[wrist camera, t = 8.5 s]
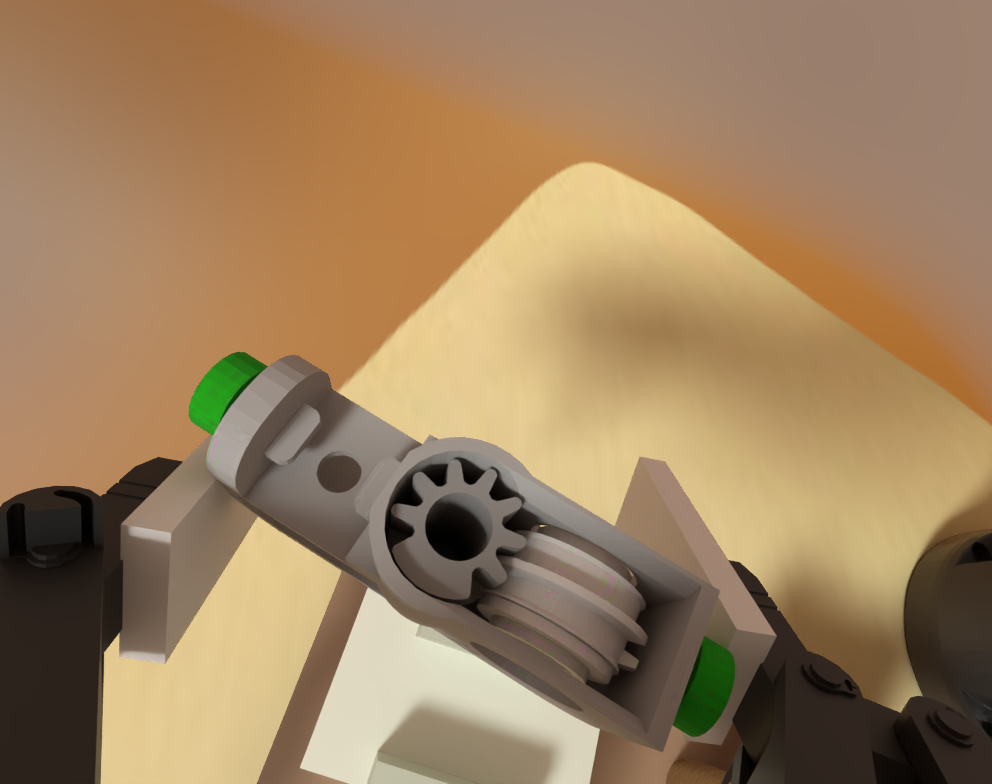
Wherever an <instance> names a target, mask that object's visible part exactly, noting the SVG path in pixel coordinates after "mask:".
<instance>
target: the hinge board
mask: <svg viewBox="0 0 992 784" xmlns="http://www.w3.org/2000/svg"><path fill="white" fill-rule="evenodd" d="M741 743H742V740H741V738H740V736H739V734H738V732H737V730H736V727H735V725H734V723H732V725H731V727H730V729H729V731H728V733H727V735H726V737H725V739H724V741H723V743H722V745H715V744H708V743H701V742H694V741H688V740H684V738H683V735H682V733H681V730H679V729H678V728H676V727H674V726H673V725H672V728H671V731H670V733H669V736H668V739H667V742H666V745H665V747H664V750H663V752H660V751H657V750H654V749H651V748H648V747H645V746H642V745H639V744H636V743H634V742H631V741H628V740H625V739H622V738H620V737H618V736H617V735H615V734H613V733H610V732H607V731H604V730H601V729H598V728H595V727H593V726H591V725H589V724H587V723H585V722H583V721H581V720H579V719H577V718H575V717H573V716H571V715H570V714H568V713H566V712H564V711H562V710H561V709H559V708H557V707H556V706H554V705H552V704H550V703H549V702H547V701H546V700H544V699H542V698H541V697H539V696H537V695H536V694H534V693H533V692H531V691H529V690H528V689H526V688H525V687H523V686H522V685H520V684H518V683H517V682H515V681H514V680H512V679H511V678H509V677H507V676H506V675H504V674H503V673H501V672H500V671H498V670H497V669H495V668H493V667H492V666H490V665H489V664H487V663H486V662H484V661H482V660H481V659H479V658H478V657H476V656H475V655H473V654H471V653H470V652H468V651H467V650H465V649H464V648H462V647H461V646H459V645H457V644H456V643H454V642H453V641H451V640H450V639H448V638H446V637H445V636H443V635H442V634H440V633H439V632H437V631H435V630H434V629H432V628H431V627H426V626H423V625H419V624H417V623H414V622H412V621H410V620H408V619H407V618H405V617H404V616H402V615H401V614H400V613H398V612H397V611H396V610H395V609H394V608H393V607H392V606H391V605H390V604H389V603H388V602H387V600H386V599H385V598H384V597H382V596H381V595H379V594H377V593H376V592H374V591H373V590H371V589H370V588H368V587H367V586H365V585H363V584H362V583H360V582H359V581H357V580H356V579H354V578H352V577H351V576H349V575H348V574H346V573H345V572H343V571H342V572H341V575H340V577H339V580H338V582H337V585H336V587H335V590H334V592H333V595H332V597H331V600H330V602H329V605H328V607H327V610H326V612H325V615H324V617H323V620H322V622H321V625H320V627H319V630H318V632H317V635H316V637H315V640H314V642H313V645H312V647H311V650H310V652H309V655H308V657H307V660H306V662H305V665H304V667H303V670H302V672H301V675H300V677H299V680H298V682H297V685H296V687H295V690H294V692H293V695H292V697H291V700H290V702H289V705H288V707H287V710H286V712H285V715H284V717H283V720H282V722H281V725H280V727H279V730H278V732H277V735H276V737H275V740H274V742H273V745H272V747H271V750H270V752H269V755H268V757H267V760H266V762H265V765H264V767H263V770H262V772H261V775H260V777H259V780H258V782H257V784H721V782H722V780H723V778H724V776H725V774H726V772H727V770H728V768H729V766H730V764H731V762H732V761H733V759H734V757H735V755H736V753H737V751H738V749H739V747H740V745H741ZM729 784H731V782H730V783H729Z"/></svg>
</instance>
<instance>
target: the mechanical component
mask: <svg viewBox="0 0 992 784" xmlns="http://www.w3.org/2000/svg"><path fill="white" fill-rule="evenodd" d="M189 418H190V420H191V421H192V422H193V423H194V424H195V425H197V426H199V427H200V428H202V429H203V430H205V431H207V432H208V433H210V434H211V435H213V437H212V440H211V442H210V445H209V448H208V452H207V458H206V465H207V469H208V471H209V473H210V474H211V475H212V476H213V477H214V478H215V479H217V480H218V482H219V483H220V484H221V485H222V486H223V487H224V488H225V489H226V490H227V491H228V492H229V494H230V495H231V496H232V497H233V498H235V499H236V500H237V501H238V502H240V503H241V504H242V505H243V506H245V507H246V508H247V509H249V510H250V511H251V512H253V513H254V514H256V515H257V516H258V517H260V518H261V519H263V520H264V521H266V522H267V523H268V524H270V525H271V526H273V527H274V528H276V529H277V530H279V531H280V532H282V533H284V534H285V535H287V536H288V537H290V538H291V539H293V540H294V541H296V542H298V543H299V544H301V545H302V546H304V547H305V548H307V549H309V550H310V551H312V552H313V553H315V554H316V555H318V556H320V557H321V558H323V559H324V560H326V561H327V562H329V563H331V564H332V565H334V566H335V567H337V568H338V569H340V570H341V571H343V572H345V573H346V574H348V575H349V576H351V577H352V578H354V579H356V580H357V581H359V582H360V583H362V584H363V585H365V586H367V587H368V588H370V589H371V590H373V591H374V592H376V593H377V594H379V595H381V596H382V597H384V598H385V599H386V600H387V602H388V603H389V604H390V605H391V606H392V607H393V608H394V609H395V610H396V611H397V612H398V613H400V614H401V615H402V616H404V617H405V618H407V619H408V620H410V621H412V622H414V623H417V624H419V625H423V626H426V627H431V628H432V629H434V630H435V631H437V632H439V633H440V634H442V635H443V636H445V637H446V638H448V639H450V640H451V641H453V642H454V643H456V644H457V645H459V646H461V647H462V648H464V649H465V650H467V651H468V652H470V653H471V654H473V655H475V656H476V657H478V658H479V659H481V660H482V661H484V662H486V663H487V664H489V665H490V666H492V667H493V668H495V669H497V670H498V671H500V672H501V673H503V674H504V675H506V676H507V677H509V678H511V679H512V680H514V681H515V682H517V683H518V684H520V685H522V686H523V687H525V688H526V689H528V690H529V691H531V692H533V693H534V694H536V695H537V696H539V697H541V698H542V699H544V700H546V701H547V702H549V703H550V704H552V705H554V706H556V707H557V708H559V709H561V710H562V711H564V712H566V713H568V714H570V715H571V716H573V717H575V718H577V719H579V720H581V721H583V722H585V723H587V724H589V725H591V726H593V727H595V728H598V729H601V730H604V731H607V732H610V733H613V734H615V735H617V736H618V737H620V738H622V739H625V740H628V741H631V742H634V743H636V744H639V745H642V746H645V747H648V748H651V749H654V750H657V751H660V752H663V750H664V747H665V745H666V742H667V739H668V736H669V733H670V731H671V728H672V725H673V726H674V727H676V728H678V729H679V730H681V731H682V732H684V733H686V734H687V735H689V736H691V737H699V736H701V735H703V734H705V733H706V732H707V731H709V730H710V729H711V728H712V727H713V726H714V724H715V723H716V722H717V721H718V719H719V718H720V717H721V715H722V713H723V711H724V709H725V707H726V705H727V703H728V701H729V698H730V695H731V693H732V689H733V684H734V680H735V662H734V657H733V656H732V654H731V652H730V651H728V650H727V649H725V648H724V647H722V646H720V645H719V644H717V643H715V642H714V641H712V640H711V639H709V638H707V637H706V636H704V635H705V632H706V630H707V627H708V624H709V621H710V618H711V615H712V613H713V610H714V607H715V604H716V601H717V599H718V596H719V593H720V590H718V589H717V588H715V587H713V586H712V585H710V584H708V583H707V582H705V581H703V580H702V579H700V578H699V577H697V576H695V575H694V574H692V573H690V572H689V571H687V570H685V569H684V568H682V567H680V566H679V565H677V564H675V563H674V562H672V561H671V560H669V559H667V558H666V557H664V556H662V555H661V554H659V553H657V552H656V551H654V550H652V549H651V548H649V547H648V546H646V545H644V544H643V543H641V542H639V541H638V540H636V539H634V538H633V537H631V536H629V535H628V534H626V533H625V532H623V531H621V530H620V529H618V528H616V527H615V526H613V525H611V524H610V523H608V522H606V521H605V520H603V519H601V518H600V517H598V516H597V515H595V514H593V513H592V512H590V511H588V510H587V509H585V508H583V507H582V506H580V505H578V504H577V503H575V502H574V501H572V500H570V499H569V498H567V497H565V496H564V495H562V494H560V493H559V492H557V491H555V490H554V489H552V488H550V487H549V486H547V485H546V484H544V483H542V482H541V481H539V480H537V479H536V478H534V477H533V476H532V475H531V474H530V473H529V471H528V470H527V469H526V468H525V467H524V465H523V464H522V463H520V462H519V461H518V460H517V459H516V458H515V457H513V456H512V455H511V454H510V453H508V452H506V451H505V450H503V449H501V448H499V447H498V446H496V445H493V444H490V443H488V442H485V441H482V440H478V439H471V438H465V437H458V438H444V439H439V440H438V439H436V438H435V437H433V436H431V435H429V436H428V438H427V439H426V441H425V442H424V444H423V445H422V444H421V443H419V442H417V441H416V440H414V439H413V438H411V437H409V436H408V435H406V434H404V433H403V432H401V431H399V430H398V429H396V428H395V427H393V426H391V425H390V424H388V423H386V422H385V421H383V420H382V419H380V418H378V417H377V416H375V415H373V414H372V413H370V412H368V411H367V410H365V409H364V408H362V407H360V406H359V405H357V404H355V403H354V402H352V401H351V400H349V399H347V398H346V397H344V396H342V395H341V394H339V393H337V392H336V391H334V390H333V389H332V388H331V383H330V378H329V376H328V374H327V373H325V372H324V371H322V370H321V369H319V368H317V367H316V366H314V365H312V364H311V363H309V362H307V361H306V360H304V359H302V358H301V357H299V356H297V355H290V356H286V357H283V358H281V359H279V360H277V361H276V362H274V363H273V364H271V365H270V366H266V365H264V364H263V363H261V362H259V361H258V360H256V359H255V358H253V357H251V356H250V355H248V354H247V353H244V352H236V353H233V354H230V355H229V356H227V357H225V358H223V359H222V360H221V361H219V362H218V363H217V364H216V365H215V366H213V367H212V368H211V369H210V371H209V372H208V373H207V374H206V375H205V376H204V378H203V379H202V380H201V382H200V383H199V385H198V386H197V388H196V390H195V392H194V394H193V396H192V398H191V402H190V405H189ZM540 525H546V526H544V527H540ZM550 526H552V527H550ZM625 566H626V567H627V568H628V569H629V570H630V571H631V572H632V574H633V575H634V576H631V574H630V572H629V570H628V569H627V568H626V567H625Z"/></svg>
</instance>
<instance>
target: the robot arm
mask: <svg viewBox="0 0 992 784" xmlns="http://www.w3.org/2000/svg"><path fill="white" fill-rule="evenodd" d="M212 437H213V435H210V436H209V437H208V438H207V439H206V440H205V441H204V442H203V443H202V444H201V445H200V446H199V447H198V448H197V449H196V450H195V451H194V452H193V453H192V454H191V455H190V456H189V457H188V458H187V459H186V460H185V461H184V462H182V461H177V460H171V459H166V458H160V457H157V458H155V459H152V460H150V461H148V462H145V463H143V464H140V465H138V466H136V467H134V468H133V469H132V470H131V471H130V472H128V473H127V474H126V475H125V476H124V477H123V478H122V479H120V480H119V483H116V484H115V485H113V486H112V487H111V488H110V489H109V490H108V491H107V493H106V494H103V495H102V496H101V497H100V496H99V495H97V494H96V493H94V492H93V491H91V490H88V489H84V488H80V487H75V486H52V487H45V488H38V489H33V490H30V491H28V492H24V493H21V494H18V495H16V496H14V497H13V498H11V499H10V500H8V501H6V502H4V503H3V504H2V505H1V507H0V784H100V782H101V749H102V716H103V682H104V652H105V651H106V649H107V648H108V647H109V645H110V644H111V643H112V641H113V640H114V639H115V638H116V636H117V635H118V634H119V632H120V640H119V657H123V658H129V659H136V660H143V661H150V662H157V663H163V664H165V663H166V661H167V660H168V658H169V657H170V655H171V653H172V652H173V650H174V649H175V647H176V645H177V644H178V642H179V641H180V639H181V638H182V636H183V634H184V633H185V631H186V630H187V628H188V626H189V625H190V623H191V622H192V620H193V618H194V617H195V615H196V614H197V612H198V611H199V609H200V607H201V606H202V604H203V603H204V601H205V599H206V598H207V596H208V595H209V593H210V591H211V590H212V588H213V587H214V585H215V584H216V582H217V580H218V579H219V577H220V576H221V574H222V572H223V571H224V569H225V568H226V566H227V564H228V563H229V561H230V560H231V558H232V557H233V555H234V553H235V552H236V550H237V549H238V547H239V545H240V544H241V542H242V541H243V539H244V537H245V536H246V534H247V533H248V531H249V530H250V528H251V526H252V525H253V523H254V522H255V520H256V518H257V517H258V516H257V515H256V514H254V513H253V512H251V511H250V510H249V509H247V508H246V507H245V506H243V505H242V504H241V503H240V502H238V501H237V500H236V499H235V498H233V497H232V496H231V495H230V494H229V492H228V491H227V490H226V489H225V488H224V487H223V486H222V485H221V484H220V483H219V482H218V480H217V479H215V478H214V477H213V476H212V475H211V474H210V473H209V471H208V469H207V465H206V458H207V452H208V448H209V445H210V442H211V440H212ZM615 527H616V528H618V529H620V530H621V531H623V532H625V533H626V534H628V535H629V536H631V537H633V538H634V539H636V540H638V541H639V542H641V543H643V544H644V545H646V546H648V547H649V548H651V549H652V550H654V551H656V552H657V553H659V554H661V555H662V556H664V557H666V558H667V559H669V560H671V561H672V562H674V563H675V564H677V565H679V566H680V567H682V568H684V569H685V570H687V571H689V572H690V573H692V574H694V575H695V576H697V577H699V578H700V579H702V580H703V581H705V582H707V583H708V584H710V585H712V586H713V587H715V588H717V589H718V590H720V593H719V596H718V599H717V601H716V604H715V607H714V610H713V613H712V615H711V618H710V621H709V624H708V627H707V630H706V632H705V635H704V636H706V637H707V638H709V639H711V640H712V641H714V642H715V643H717V644H719V645H720V646H722V647H724V648H725V649H727V650H728V651H730V652H731V654H732V656H733V657H734V662H735V680H734V684H733V689H732V693H731V695H730V698H729V701H728V703H727V705H726V707H725V709H724V711H723V713H722V715H721V717H720V718H719V719H718V721H717V722H716V723H715V724H714V726H713V727H712V728H711V729H710V730H709V731H707V732H706V733H705V734H703V735H701V736H699V737H691V736H689V735H687V734H686V733H684V732H682V731H681V733H682V735H683V738H684V740H688V741H694V742H701V743H708V744H715V745H722V743H723V741H724V739H725V737H726V735H727V733H728V731H729V729H730V727H731V725H732V723H734V725H735V727H736V730H737V732H738V734H739V736H740V738H741V740H742V743H741V745H740V747H739V749H738V751H737V753H736V755H735V757H734V759H733V761H732V762H731V764H730V766H729V768H728V770H727V772H726V774H725V776H724V778H723V780H722V782H721V784H729V783H730V782H731V784H992V529H989V530H983V531H978V532H972V533H966V534H961V535H956V536H953V537H950V538H948V539H945V540H943V541H941V542H940V543H938V544H937V545H935V546H934V547H933V548H932V549H930V550H929V551H928V552H927V553H926V555H925V556H924V557H923V558H922V559H921V561H920V562H919V564H918V566H917V567H916V569H915V571H914V574H913V576H912V578H911V581H910V584H909V588H908V592H907V598H906V606H905V631H906V640H907V646H908V651H909V656H910V660H911V664H912V667H913V671H914V674H915V677H916V680H917V682H918V685H919V687H920V690H921V692H922V694H923V696H924V697H922V696H916V697H911V698H910V699H909V700H908V702H907V704H906V705H905V707H904V708H903V710H902V711H901V713H899V712H897V711H894V710H892V709H889V708H887V707H884V706H882V705H879V704H877V703H874V702H872V701H869V700H867V699H864V698H863V696H862V694H861V692H860V689H859V687H858V686H857V684H856V683H855V682H854V681H853V680H852V678H851V677H850V676H849V675H848V674H847V673H846V672H844V671H843V670H842V669H841V668H840V667H838V666H837V665H836V664H834V663H832V662H831V661H829V660H827V659H826V658H824V657H822V656H820V655H817V654H814V653H811V652H809V651H807V650H806V649H805V647H804V646H803V644H802V643H801V641H800V640H799V638H798V637H797V635H796V634H795V633H794V631H793V630H792V628H791V627H790V625H789V624H788V622H787V621H786V619H785V618H784V616H783V615H782V613H781V612H780V611H777V606H776V605H775V603H774V602H773V600H772V599H771V597H768V593H767V592H766V590H765V589H764V587H763V586H762V584H761V583H760V581H759V580H758V578H757V577H756V576H754V575H753V574H752V573H751V572H750V571H749V570H748V569H747V568H745V567H744V566H743V565H742V564H741V563H740V562H735V561H730V560H728V559H727V558H726V556H725V554H724V553H723V551H722V550H721V548H720V547H719V545H718V544H717V542H716V540H715V539H714V537H713V536H712V534H711V533H710V531H709V529H708V528H707V526H706V525H705V523H704V522H703V520H702V518H701V517H700V515H699V514H698V512H697V511H696V509H695V508H694V506H693V504H692V503H691V501H690V500H689V498H688V497H687V495H686V493H685V492H684V490H683V489H682V487H681V486H680V484H679V483H678V481H677V479H676V478H675V476H674V475H673V473H672V472H671V470H670V468H669V467H668V465H667V464H666V462H664V461H659V460H654V459H649V458H644V457H639V460H638V463H637V466H636V468H635V471H634V474H633V477H632V480H631V482H630V485H629V488H628V491H627V494H626V496H625V499H624V502H623V505H622V508H621V511H620V513H619V516H618V519H617V522H616V525H615ZM625 567H626V566H625ZM626 568H627V567H626ZM627 569H628V568H627ZM628 570H629V569H628ZM629 572H630V574H631V576H634V575H633V574H632V572H631V571H630V570H629Z"/></svg>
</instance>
